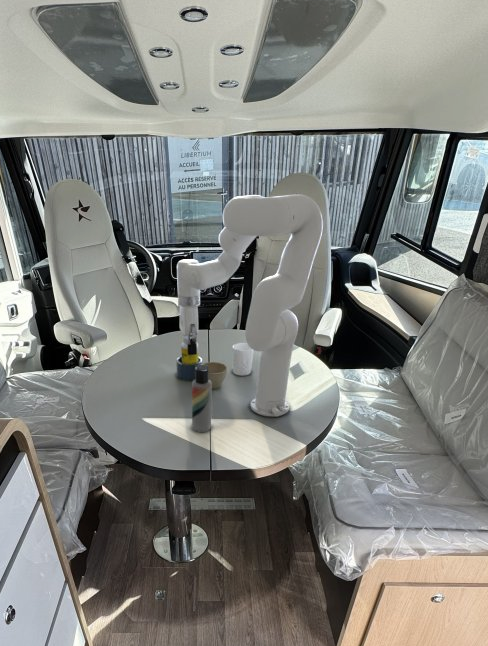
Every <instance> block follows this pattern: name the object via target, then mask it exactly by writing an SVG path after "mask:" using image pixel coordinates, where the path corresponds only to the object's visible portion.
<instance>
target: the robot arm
mask: <svg viewBox="0 0 488 646" xmlns="http://www.w3.org/2000/svg"><path fill="white" fill-rule="evenodd" d="M222 223H223V226H224V227H223V228H222V230H221V231H220V233H219V234H218V243H219V246H220V248H221V249H222V252H221V253H220V254H219V256H218V257H217V258H216V259H215V260H209V261H205V262H201V263H200V262H199V260H196V259H193V258H191V259H188V258H187V259H181V260H179V261H178V262H177V264H176V280H177V283H176V284H177V305H178V307H179V330H180V332H181V333H182V337H184V336H188V355H195V354H197V343H198V341H197V338H198V337H197V336H198V335H199V311H198V310H199V309H198V307H199V306H201V291H203V290H206V289H207V290H208V289H209V288H213V287H216V286H220V285H223V284H224V283H226V282H227V281H229V280H230V278H231V277H232V276H233V275H234V274H235V272H237V270H238V269H239V267H240V265H241V262H242V259H243V254H244V252H245V251H246V250H247V249H248V247H250V245H251V244H252V242H253V241H254V240H255V239H256V238H257V237H267V238H269V237H278V236H282V235H287V234H290V237H289V239H288V241H287V242H286V245H285V246H284V248H283V251H282V253H281V257H280V261H279V265H278V268H277V270H276V273H275V274H274V275H270V276H268V277H265V278H263V279H262V280H261V281H259V283H258V284H257V285H256V287H255V288H254V290H253V294H252V297H251V301H250V305H249V310H248V314H247V319H246V324H245V330H244V331H245V332H244V334H245V335H244V336H245V337H244V338H245V341H246V343H247V344H248V345H249V346H250V348H252V349H253V350H254V351H255V352H259V360H258V369H257V370H258V371H257V381H256V393H255V397H254V398H253V399H252V400H251V401H250V409H251V410H252V412H254V413H256V414H258V415H260V416H263V417H269V418H270V417H273V418H274V417H275V418H276V417H281V416H284V415H285V414H287V413H288V412H289V410H290V404H289V402H288V401H287V400H286V397H287V390H288V382H289V376H290V375H289V374H290V369H291V361H292V354H293V349H294V345H295V342H296V339H297V335H298V333H299V332H298V330H299V322H298V318H297V316H296V314H295V313H294V312H293V311H292V310H290V309H292V308H294V307H296V306H298V305H299V304H300V303H301V302H302V300H303V297H304V296H305V292H306V288H307V285H308V281H309V278H310V275H311V272H312V267H313V263H314V260H315V258H316V255H317V251H318V249H319V246H320V243H321V239H322V235H323V231H324V230H323V229H324V228H323V227H324V221H323V214H322V211H321V209H320V207H319V205H318V204H317V202H316V201H315V200H314V199H313V198H312V197H310V196H308V195H305V194H300V193H298V194H297V193H295V194H294V193H293V194H287V195H277V196H269V197H268V196H267V197H265V196H262V195H259V194H249V195H241V196H235V197H233V198H231V199H230V200H228V202H227V203H226V204H225V207H224V209H223V212H222ZM190 337H192V338H191V339H190ZM183 342H184V341H183V340H182V343H183Z"/></svg>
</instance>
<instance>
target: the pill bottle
mask: <svg viewBox="0 0 488 646" xmlns="http://www.w3.org/2000/svg"><path fill="white" fill-rule="evenodd" d="M191 338H192V337H190V339H191ZM183 341H184V342H183ZM180 347H181V356H182V364H185V365H193V364H197V363H199V357H200V355H199V353H200V352H199V343H198V342H197V354H195V355H188V336H182V343H181V346H180Z"/></svg>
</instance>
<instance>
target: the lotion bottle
mask: <svg viewBox="0 0 488 646" xmlns="http://www.w3.org/2000/svg"><path fill="white" fill-rule="evenodd" d="M202 364H203V363H202ZM202 364H200V365H197V367H196V368H195V380H192V382H191V427H192V429H193V430H194V431H195V432H197V433H205V432H208V431H209V430H211V428H212V427H211V426H212V394H213V393H212V391H213V389H212V382H211V381H210V380H209V367H208V366H207V365H202Z"/></svg>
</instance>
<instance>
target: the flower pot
mask: <svg viewBox="0 0 488 646" xmlns="http://www.w3.org/2000/svg"><path fill="white" fill-rule="evenodd" d="M202 365H207V366H208V367H209V380H210V381H211V382H212V390H216V389H219V388H220V387H221V385H222V384H223V382H224V380H225V378H226V376H227V373H228V366H227V365H226V364H225V363H221V362H219V361H207V362H206V361H205V362H202Z"/></svg>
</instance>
